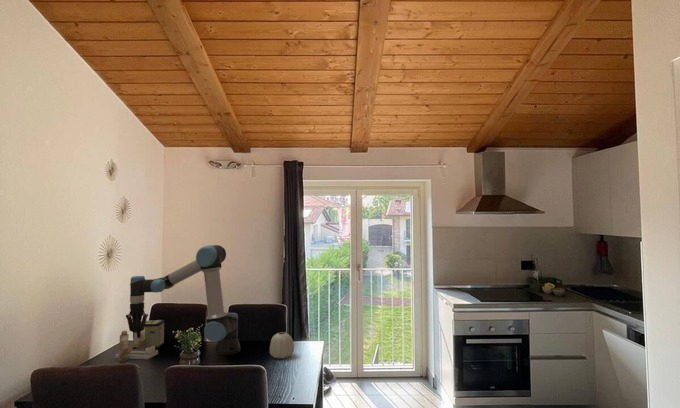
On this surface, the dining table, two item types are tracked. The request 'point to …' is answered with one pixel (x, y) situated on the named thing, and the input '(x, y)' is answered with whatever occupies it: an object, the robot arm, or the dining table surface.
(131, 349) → the breaker
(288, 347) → the vase
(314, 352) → the dining table surface
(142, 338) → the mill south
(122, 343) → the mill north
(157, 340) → the protein box
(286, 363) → the dining table surface
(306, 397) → the dining table surface
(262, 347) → the dining table surface
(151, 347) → the breaker
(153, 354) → the white rectangular tray
